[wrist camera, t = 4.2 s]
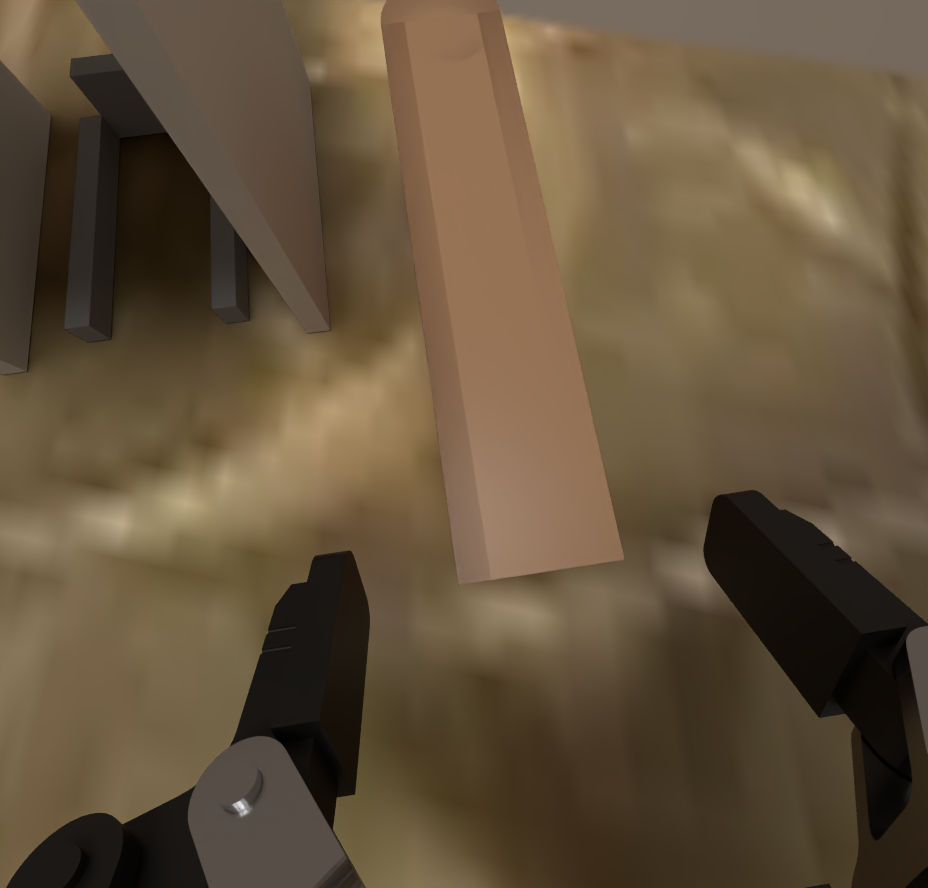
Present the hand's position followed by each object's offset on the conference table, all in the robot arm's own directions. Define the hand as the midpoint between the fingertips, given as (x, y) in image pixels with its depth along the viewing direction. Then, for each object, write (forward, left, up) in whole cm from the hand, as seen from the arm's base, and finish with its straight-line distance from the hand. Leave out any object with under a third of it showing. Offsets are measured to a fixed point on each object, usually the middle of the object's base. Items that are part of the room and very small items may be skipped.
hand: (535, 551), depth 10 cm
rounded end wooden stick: (0, -9, -8) cm, 12 cm away
